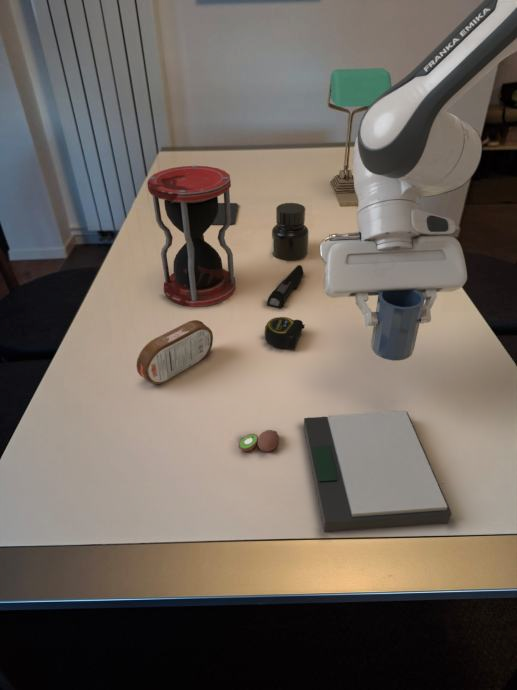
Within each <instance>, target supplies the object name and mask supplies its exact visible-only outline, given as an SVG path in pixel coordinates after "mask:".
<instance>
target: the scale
mask: <svg viewBox="0 0 517 690" xmlns="http://www.w3.org/2000/svg"><path fill="white" fill-rule="evenodd" d="M303 431H304V437H305V442H306V447H307V452H308V458H309V462H310V467H311V473H312V477H313V482H314V488H315V494H316V498H317V505H318V508H319V513H320V519H321V524H322V529H323V533H333V532H347V531H348V532H349V531H360V530H371V529H386V528H400V527H413V526H427V525H428V526H429V525H441V524H449V522H450V519H451V517H452V510H451V509H450V506H449V504H448V501H447V499H446V497H445V495H444V492H443V489H442V488H441V485H440V483H439V480H438V479H437V477H436V475H435V472H434V470H433V468H432V465H431V463H430V460H429V458H428V456H427V453H426V450H425V449H424V446H423V444H422V442H421V440H420V438H419V435H418V433H417V431H416V428H415V426H414V424H413V422H412V419H411V417H410V415H409V413H408V411H407V410H396V411H395V410H393V411H380V412H379V411H378V412H363V413H362V412H361V413H347V414H346V413H345V414H332V415H330V414H329V415H327V416H315V417H313V416H312V417H304V418H303Z"/></svg>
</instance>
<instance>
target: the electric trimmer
mask: <svg viewBox="0 0 517 690" xmlns="http://www.w3.org/2000/svg"><path fill="white" fill-rule="evenodd" d="M304 273H305V272H304V267H303V265H301V264H298V265H297V266H296V267H294V269H293V270H292V271H291V272H290V273H289V274H288V275H287V276H286V277H285V278H284V279H283V280H282V281H281V282H280V283H279V284H278V285H277V286H276V287H275V288H274V290H273V291H272V292H271V293H270V295H269V296H268V298H267V302H266V306H267V307H271V308H275V309H281V308H283V307H284V306H285V303H286V299H287V298H288V296H289V295H290V293H291V292H292V291H295V290H296V289H297V288H298V286H299V285H300V283H301V280H302V278H303V277H304Z"/></svg>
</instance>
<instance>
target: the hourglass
mask: <svg viewBox="0 0 517 690" xmlns="http://www.w3.org/2000/svg"><path fill="white" fill-rule="evenodd" d="M231 183H232V181H231V175H230V174H229V173H228V172H227V171H226V170H223V169H221V168H219V167H213V166H208V165H207V166H206V165H196V164H195V165H182V166H176V167H170V168H167V169H163V170H160V171H158V172H155V173H154V174H152V175H151V176H149V177H148V178H147V182H146V184H147V190H148V192H149V193H150V195H151V196H152V203H153V209H154V217H155V221H156V224H157V225H158V227H159V228H160V230H162V231H163V233H164V235H165V244H164V245H163V247H162V248H161V252H160V256H161V262H162V268H163V269H162V270H163V274H164V281H163V286H162V287H163V288H162V289H163V293H164V295H165V297H166V298H167V300H169V301H171V302H172V303H174V304H176V305H179V306H182V307H188V308H189V307H191V308H200V307H201V308H202V307H209V306H213V305H217V304H220V303H222V302H223V301H227V299H229V298H230V297H231V296H232V295H233V294H234V293H235V290H236V288H237V283H236V282H237V281H236V276H235V272H234V270H235V269H234V254H233V252H232V249H231V248H230V247H229V246H228V245H227V242H226V239H225V236H226V231H227V230H228V229H229V227H230V226H231V225H230V223H231V212H230V203H231V198H230V197H231V196H230V188H231V187H232V184H231ZM222 195H223V203H224V207H225V222H224V225H222V227H221V228H220V229H219V230H218V235H217V240H218V243H219V246H220V247H221V248H222V249H223V250H224V251H225V253H226V257H227V268H228V269H227V270H226V269H225V268H223V261H222V257H221V255H220V254H219V253H218V251H217V249H215V247H213V246H212V245H211V244H210V243H208V242H207V241H206V240H205V235H204V234H205V233H206V232H207V231H208V230H209V229H210V227H211V226H213V225H212V223H213V222H214V220H215V219H216V216H217V214H218V203H219V198H218V197H220V196H222ZM159 200H163V201H164V210H165V214H166V217H167V218H168V220H169V221H170V222H171V224H172V225H173V226H174V227H175V228H176V229H177V230H179V232H181V233H182V234H183V235H184V241H185V243H184V244H183V245H182V246H181V247H180V249H179V250H178V252H177V253H176V254H175V257H174V259H173V273H171V274H170V269H169V263H168V262H169V261H168V255H167V254H168V250H169V249H170V247H171V246H173V245H172V244H173V238H174V237H173V235H172V233H171V229H170V228H169V227H168V226H166V224H165V223H164V221H163V219H162V212H161V206H160V201H159Z"/></svg>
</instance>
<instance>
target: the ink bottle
mask: <svg viewBox="0 0 517 690" xmlns="http://www.w3.org/2000/svg"><path fill="white" fill-rule="evenodd" d="M275 211H276V212H275V213H276V214H275V215H276V217H275V219H276V224H275V225H274V226H273V227H272V229H271V255H272V256H273V257H274V258H276V259H278V260H281V261H285V262H295V261H299V260H302V259H305V258H306V257H307V255H308V253H309V232H310V231H309V228H308V227H307V225H305V220H306V207H305V206H304V205H303V204H301V203H297V202H284V203H281V204H278V205H277V206H276V209H275Z"/></svg>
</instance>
